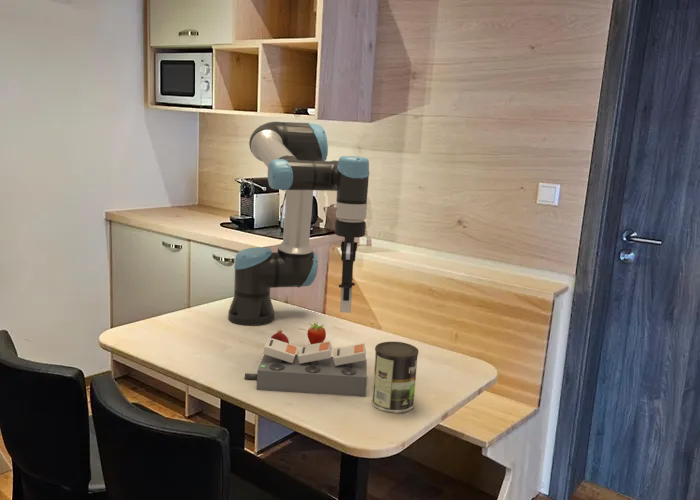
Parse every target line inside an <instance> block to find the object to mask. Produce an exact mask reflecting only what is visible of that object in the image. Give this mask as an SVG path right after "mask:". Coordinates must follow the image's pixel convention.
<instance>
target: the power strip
mask: <svg viewBox="0 0 700 500" xmlns="http://www.w3.org/2000/svg"><path fill="white" fill-rule="evenodd" d="M333 358H334V356H331V357H330V358H327V359H322V360H317V361H311V362H306V363H301V364H300V363H299V359H298V354H295V357H294V360H293V363H290V362H287V361H284V360H281V359H278V358H274V357H271V356H268V355H265V354H263V356H262V358H261V361H260V364H259V366H258V368H257V373H250V372H249V373H247V372H245V373H244V379H245V380H256V390H261V391H262V390H263V391H273V392H274V391H276V392H290V393H291V392H292V393H307V394H309V393H310V394H311V393H312V394H322V395H323V394H324V395H326V394H327V395H339V396H340V395H341V396H355V397H366V395H367V384H368V382H367V381H368V371H367V370H368V364H367V363H368V362H367V361H368V360H367V358H366V360H364V361H359V362H353V363H348V364H343V365H337V366H335V364H334V359H333Z"/></svg>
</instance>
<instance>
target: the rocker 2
mask: <svg viewBox="0 0 700 500" xmlns="http://www.w3.org/2000/svg"><path fill="white" fill-rule="evenodd" d="M332 350H333V349H332V344H331V341H330V340H329V341H324V342H322V343H317V344H306V345H301V346H300V347H299V351H298V353H297V355H298V359H299V363H300V364H301V363H306V362H311V361H317V360H322V359H327V358H330V357H332V356H331V355H332Z"/></svg>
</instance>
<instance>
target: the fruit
mask: <svg viewBox="0 0 700 500" xmlns="http://www.w3.org/2000/svg"><path fill="white" fill-rule="evenodd" d="M309 325H310V326H311V327H309V329H308V330H307V339H308V342H309V345H311V344H317V343H322V342H325V340H326V336H327V333H326V329H325V328H324V324H322V325H321V324H320V325H319V324H318V323H317V322H314V323H313V324H312V323H309Z"/></svg>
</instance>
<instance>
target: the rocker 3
mask: <svg viewBox="0 0 700 500" xmlns="http://www.w3.org/2000/svg"><path fill="white" fill-rule="evenodd" d="M333 357H334V358H333V359H334V364H335V366H337V365H343V364H348V363H353V362H359V361H364V360H366V359H367V349H366V345H365V343H364V342H363V343H362V342H361V343H359V344H358V343H357V344H351V345H347V346H341V347H336V348H334V350H333Z"/></svg>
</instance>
